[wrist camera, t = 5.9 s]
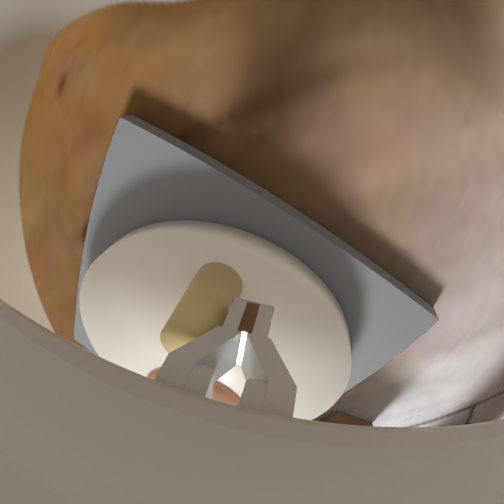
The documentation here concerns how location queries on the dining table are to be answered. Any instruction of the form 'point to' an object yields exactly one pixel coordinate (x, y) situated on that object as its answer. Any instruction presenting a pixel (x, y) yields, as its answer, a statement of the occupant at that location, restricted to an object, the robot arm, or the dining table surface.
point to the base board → (250, 220)
